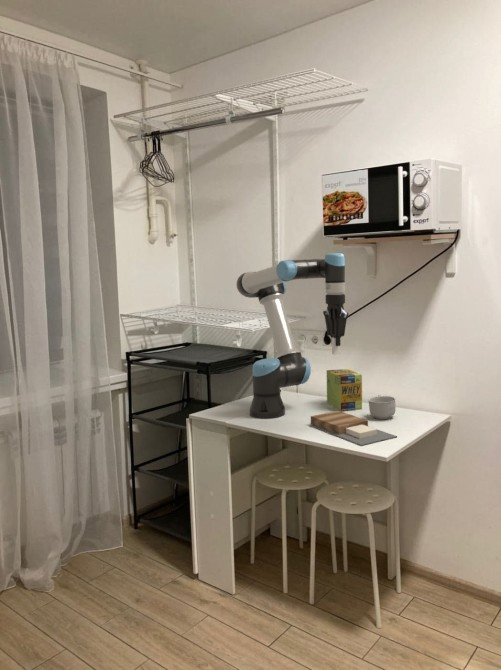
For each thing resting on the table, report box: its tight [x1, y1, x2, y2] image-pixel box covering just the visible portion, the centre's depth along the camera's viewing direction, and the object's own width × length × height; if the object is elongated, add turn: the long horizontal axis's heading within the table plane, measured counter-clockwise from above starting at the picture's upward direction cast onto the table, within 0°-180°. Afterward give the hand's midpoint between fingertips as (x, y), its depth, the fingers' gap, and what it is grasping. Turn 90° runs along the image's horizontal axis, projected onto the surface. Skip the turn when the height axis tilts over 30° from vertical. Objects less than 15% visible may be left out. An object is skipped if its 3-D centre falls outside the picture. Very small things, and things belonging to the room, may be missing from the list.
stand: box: [310, 410, 369, 434], centre depth 226 cm, size 18×14×3 cm
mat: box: [310, 424, 398, 447], centre depth 220 cm, size 30×17×1 cm, turn 30°
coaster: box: [346, 425, 378, 439], centre depth 215 cm, size 8×8×2 cm
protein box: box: [326, 368, 363, 412], centre depth 256 cm, size 10×15×16 cm
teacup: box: [367, 394, 396, 420], centre depth 239 cm, size 14×11×8 cm
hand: (336, 353), depth 226 cm, fingers closed
